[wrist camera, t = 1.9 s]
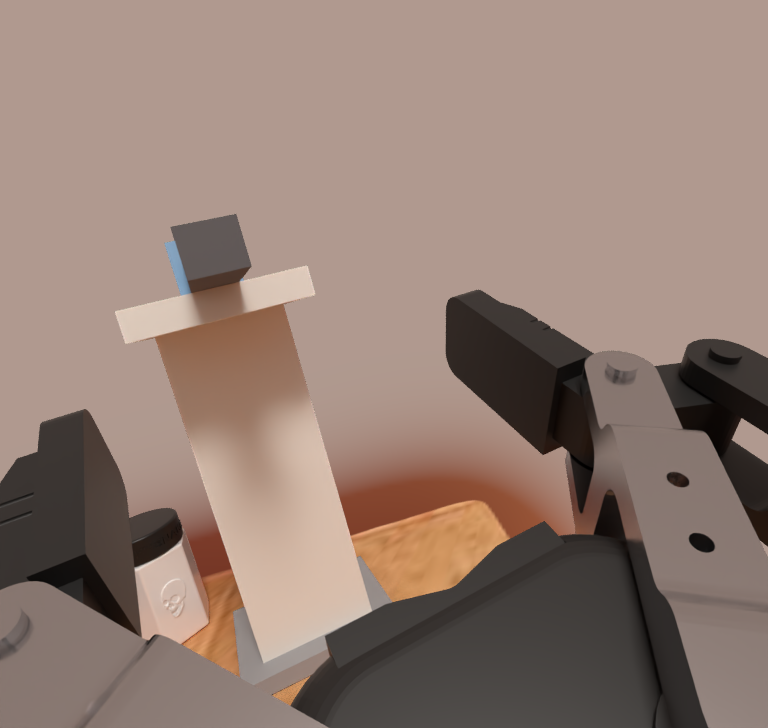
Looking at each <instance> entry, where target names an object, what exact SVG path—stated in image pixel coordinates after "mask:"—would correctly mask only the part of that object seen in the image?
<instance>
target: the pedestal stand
mask: <svg viewBox="0 0 768 728" xmlns="http://www.w3.org/2000/svg"><path fill="white" fill-rule="evenodd" d="M313 295H315V292H314V288H313V284H312V281H311V277H310V274H309V270H308V266H303V267H299V268H295V269H291V270H287V271H282V272H278V273H274V274H269V275H266V276H261V277H257V278H253V279H249V280H244V281H240V282H236V283H232V284H228V285H224V286H219V287H215V288H211V289H207V290H203V291H198V292H194V293H190V294H186V295H182V296H178V297H174V298H169V299H165V300H161V301H157V302H152V303H149V304H144V305H140V306H136V307H132V308H128V309H123V310H119V311H115V314H116V317H117V320H118V323H119V326H120V329H121V332H122V334H123V337H124V340H125V343H126V344H128V343H132V342H138V341H143V340H148V339H153V338H155V339H156V342H157V345H158V348H159V351H160V354H161V357H162V360H163V363H164V366H165V369H166V372H167V375H168V378H169V381H170V384H171V387H172V390H173V393H174V396H175V399H176V402H177V405H178V408H179V411H180V414H181V417H182V420H183V423H184V426H185V429H186V432H187V435H188V438H189V441H190V444H191V447H192V450H193V453H194V456H195V459H196V462H197V465H198V468H199V471H200V474H201V477H202V480H203V483H204V486H205V489H206V492H207V495H208V498H209V501H210V504H211V507H212V510H213V513H214V516H215V519H216V522H217V525H218V528H219V531H220V534H221V537H222V540H223V543H224V546H225V549H226V552H227V555H228V558H229V561H230V564H231V567H232V570H233V573H234V576H235V579H236V582H237V585H238V588H239V591H240V594H241V597H242V600H243V603H244V606H245V607H242V608H240V609H238V610H235V611H233V615H234V625H235V634H236V643H237V653H238V662H239V671H240V678H242V679H243V680H245V681H247V682H249V683H250V684H252V685H254V686H256V687H257V688H259V689H261V690H263V691H265V692H266V693H268V694H270V695H272V694H274V693H276V692H278V691H280V690H282V689H284V688H286V687H288V686H290V685H292V684H294V683H296V682H298V681H300V680H302V679H304V678H306V677H308V676H310V675H312V674H313V673H314V672H315V671H316V670H317V668H318V667H319V666H320V665H321V664H322V663H324V662H325V661H326V660H327V659H328V658H329V657H330V656H329V652H328V648H327V644H326V640H325V636H326V635H328V634H330V633H332V632H333V631H335V630H337V629H339V628H341V627H343V626H345V625H347V624H349V623H351V622H353V621H354V620H356V619H358V618H360V617H362V616H364V615H366V614H368V613H370V612H372V611H373V610H375V609H377V608H379V607H381V606H383V605H385V604H388V603H392V601H391V600H390V598H389V597H388V595H387V594H386V592H385V591H384V590H383V588H382V587H381V585H380V584H379V582H378V581H377V579H376V578H375V577H374V575H373V574H372V572H371V571H370V569H369V568H368V566H367V565H366V564H365V562H364V561H363V559H362V558H361V556H359V557H356V554H355V551H354V547H353V544H352V540H351V537H350V533H349V530H348V526H347V523H346V519H345V516H344V513H343V509H342V506H341V502H340V499H339V495H338V492H337V488H336V485H335V482H334V478H333V475H332V471H331V468H330V464H329V460H328V457H327V454H326V450H325V447H324V443H323V440H322V436H321V433H320V429H319V426H318V422H317V419H316V415H315V412H314V409H313V405H312V402H311V398H310V395H309V392H308V388H307V384H306V381H305V377H304V374H303V371H302V367H301V364H300V360H299V357H298V353H297V350H296V346H295V343H294V339H293V336H292V332H291V329H290V326H289V322H288V319H287V315H286V312H285V308H284V305H283V304H287V303H290V302H293V301H296V300H300V299H303V298H306V297H310V296H313Z"/></svg>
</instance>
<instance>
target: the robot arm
mask: <svg viewBox="0 0 768 728" xmlns="http://www.w3.org/2000/svg"><path fill="white" fill-rule="evenodd" d="M446 358H447V361H448V364H449V367H450V369H451V370H452V372H453V373H454V375H455V376H456V377H457V378H459V379H460V380H461V381H462V382H463V383H464V384H465V385H466V386H467V387H468V388H470V389H471V390H472V391H473V392H474V393H475V394H476V395H477V396H478V397H479V398H481V399H482V400H483V401H484V402H485V403H486V404H487V405H488V406H489V407H491V408H492V409H493V410H494V411H495V412H496V413H497V414H498V415H499V416H501V417H502V418H503V419H504V420H505V421H506V422H507V423H508V424H509V425H510V426H512V427H513V428H514V429H515V430H516V431H517V432H518V433H519V434H520V435H521V436H523V437H524V438H525V439H526V440H527V441H528V442H529V443H530V444H531V445H532V446H534V447H535V448H536V449H537V450H538V451H539V452H540V453H541V454H543V455H544V454H546V453H548V452H551V451H553V450H555V449H557V448H559V447H562V446H563V447H564V448H565V449H566V450H567V454H566V459H565V464H566V471H567V478H568V484H569V491H570V498H571V504H572V511H573V518H574V524H575V534H572V535H561V536H558V535H557V534H556V533H555V532H554V531H553V529H552V528H551V527H550V526H549V525H548V524H547V523H546V522H545V521H544V522H542V523H540V524H538V525H536V526H534V527H532V528H530V529H528V530H526V531H524V532H522V533H521V534H519V535H517V536H515V537H513V538H511V539H509V540H507V541H505V542H503V543H501V544H499V545H498V546H496V547H495V548H494V549H493V550H492V551H491V552H490V553H489V554H488V555H487V556H486V557H485V558H484V559H483V560H482V561H481V562H480V563H479V564H478V565H477V566H476V567H475V568H474V569H473V570H472V571H471V572H470V573H469V574H467V575H466V576H465V577H464V578H463V579H462V580H461V581H460V582H459V583H458V584H457V585H456V586H454V587H452V588H450V589H447V590H443V591H439V592H434V593H430V594H426V595H422V596H417V597H413V598H409V599H405V600H401V601H396V602H392V603H388V604H385V605H383V606H381V607H379V608H377V609H375V610H373V611H372V612H370V613H368V614H366V615H364V616H362V617H360V618H358V619H356V620H354V621H353V622H351V623H349V624H347V625H345V626H343V627H341V628H339V629H337V630H335V631H333V632H332V633H330V634H328V635H326V636H325V640H326V644H327V648H328V652H329V656H330V657H329V658H328V659H327V660H326V661H325V662H324V663H322V664H321V665H320V666H319V667H318V668H317V670H316V671H315V672H314V673H313V674H312V675H311V677H310V678H309V679H308V680H307V681H306V682H305V684H304V685H303V687H302V688H301V690H300V691H299V693H298V694H297V696H296V697H295V699H294V700H293V702H292V704H291V706H289V705H288V704H286V703H284V702H282V701H281V700H279V699H277V698H275V697H273V696H272V695H270V694H268V693H266V692H265V691H263V690H261V689H259V688H257V687H256V686H254V685H252V684H250V683H249V682H247V681H245V680H243V679H242V678H240V677H238V676H236V675H234V674H233V673H231V672H229V671H227V670H226V669H224V668H222V667H220V666H218V665H217V664H215V663H213V662H211V661H210V660H208V659H206V658H204V657H202V656H201V655H199V654H197V653H195V652H194V651H192V650H190V649H188V648H187V647H185V646H183V645H181V644H179V643H178V642H176V641H174V640H172V639H170V638H168V637H166V636H163V635H158V634H155V635H153V636H152V637H151V639H150V640H146V639H143V638H142V633H141V623H140V614H139V605H138V596H137V587H136V577H135V568H134V559H133V550H132V540H131V531H130V522H129V513H128V503H127V495H126V490H125V486H124V483H123V479H122V477H121V474H120V471H119V469H118V466H117V464H116V463H115V461H114V459H113V457H112V455H111V453H110V451H109V449H108V447H107V445H106V443H105V441H104V439H103V437H102V435H101V433H100V431H99V429H98V427H97V426H96V424H95V422H94V420H93V418H92V416H91V414H90V413H89V412H88V411H87V410H86V409H84V410H81V411H77V412H74V413H71V414H67V415H64V416H61V417H57V418H54V419H51V420H48V421H44V422H42V423H41V424H40V431H39V442H38V452H36V453H33V454H30V455H27V456H24V457H20V458H18V459H17V460H16V461H15V463H14V464H13V466H12V467H11V468H10V470H9V471H8V473H7V474H6V475H5V477H4V478H3V480H2V481H1V483H0V728H768V557H767V555H766V553H765V551H764V548H763V546H762V544H761V542H760V541H762V542H763V543H764V544H765V545H767V546H768V464H766V463H765V462H763V461H762V460H760V459H759V458H757V457H756V456H755V455H753V454H751V453H750V452H749V451H747V450H746V449H744V448H743V447H741V446H740V445H738V444H736V443H735V442H734V441H732V438H733V435H734V433H735V431H736V429H737V427H738V424H739V422H740V420H741V418H743V419H744V420H746V421H747V422H749V423H751V424H752V425H754V426H756V427H757V428H759V429H760V430H762V431H764V432H765V433H767V434H768V358H766V357H764V356H762V355H760V354H758V353H757V352H755V351H753V350H750V349H749V348H746V347H744V346H742V345H739V344H736V343H733V342H729V341H725V340H718V339H702V340H697V341H694V342H692V343H690V344H689V345H688V346H687V348H686V351H685V354H684V357H683V360H682V363H677V364H669V365H661V366H653V365H652V364H651V363H650V362H649V361H647V360H645V359H644V358H641V357H639V356H637V355H634V354H630V353H626V352H621V351H604V352H599V353H596V354H594V353H592V352H590V351H589V350H587V349H585V348H584V347H582V346H581V345H579V344H578V343H576V342H574V341H572V340H571V339H569V338H568V337H566V336H565V335H563V334H561V333H560V332H558V331H556V330H555V329H551V328H550V326H548V325H547V324H545V323H544V322H542V321H538V319H537V318H536V317H534V316H532V315H531V314H529V313H528V312H526V311H524V310H523V309H520V308H517V307H514V306H511V305H507V304H504V303H500V302H499V301H497V300H495V299H494V298H492V297H491V296H489V295H488V294H486V293H484V292H483V291H481V290H475V291H471V292H468V293H465V294H462V295H458V296H455V297H452V298H450V299H449V300H448V303H447V306H446Z"/></svg>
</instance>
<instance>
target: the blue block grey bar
mask: <svg viewBox="0 0 768 728" xmlns="http://www.w3.org/2000/svg"><path fill="white" fill-rule="evenodd" d="M171 230H172V233H173V237H174V240H175V241H172V242H167V243H165V247H166V250H167V253H168V256H169V259H170V262H171V266H172V269H173V272H174V275H175V278H176V281H177V284H178V287H179V290H180V294H181V296H182V295H186V294H190V293H194V292H198V291H203V290H207V289H211V288H215V287H219V286H224V285H228V284H232V283H236V282H240V281H244V280H243V277H244V275H245V274H246V272H247V271H248V270H249V269H250V267H251V263H250V259H249V256H248V253H247V249H246V246H245V243H244V239H243V236H242V232H241V229H240V226H239V222H238V219H237V215H236V214H234V215H229V216H224V217H219V218H214V219H209V220H204V221H199V222H193V223H188V224H183V225H178V226H173V227H171Z"/></svg>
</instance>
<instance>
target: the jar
mask: <svg viewBox="0 0 768 728" xmlns="http://www.w3.org/2000/svg"><path fill="white" fill-rule="evenodd" d="M129 522H130V531H131V540H132V550H133V559H134V568H135V577H136V587H137V596H138V605H139V614H140V623H141V633H142V638H143V639H146V640H150V639H151V637H152V636H153V635H155V634H158V635H163V636H166V637H168V638H170V639H172V640H174V641H176V642H178V643H179V644H182V643H184V642H185V641H186V640H188V639H189V638H190V637H192V636H193V635H194V634H196V633H197V632H198V631H200V630H201V629H202V628H204V627H205V626H206V625H208V623H209V600H208V597H207V594H206V591H205V588H204V585H203V582H202V580H201V577H200V574H199V571H198V568H197V565H196V562H195V560H194V556H193V554H192V551H191V548H190V545H189V542H188V539H187V536H186V533H185V530H184V529H183V528H182V525H181V522H180V520H179V518H178V515H177V512H176V511H175V510H174V509H170V508H162V509H156V510H152V511H148V512H145V513H142V514H139V515H136V516H134V517H131V518H129Z"/></svg>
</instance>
